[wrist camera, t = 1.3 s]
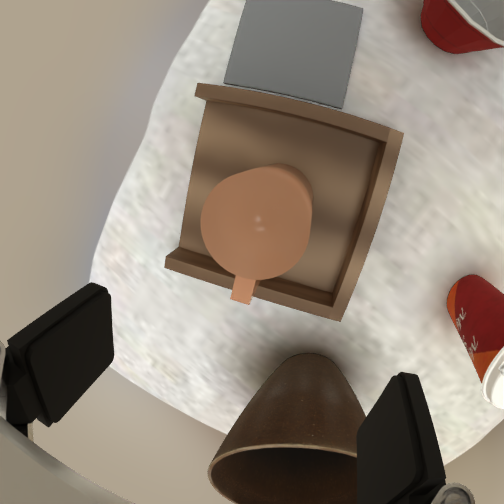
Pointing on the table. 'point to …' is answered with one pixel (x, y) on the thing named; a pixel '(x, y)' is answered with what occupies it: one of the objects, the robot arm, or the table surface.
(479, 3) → the plastic cup
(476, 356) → the paper cup
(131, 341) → the table surface
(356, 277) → the brown tray
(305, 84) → the coaster
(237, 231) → the tan tapered cylinder
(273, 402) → the plant pot
